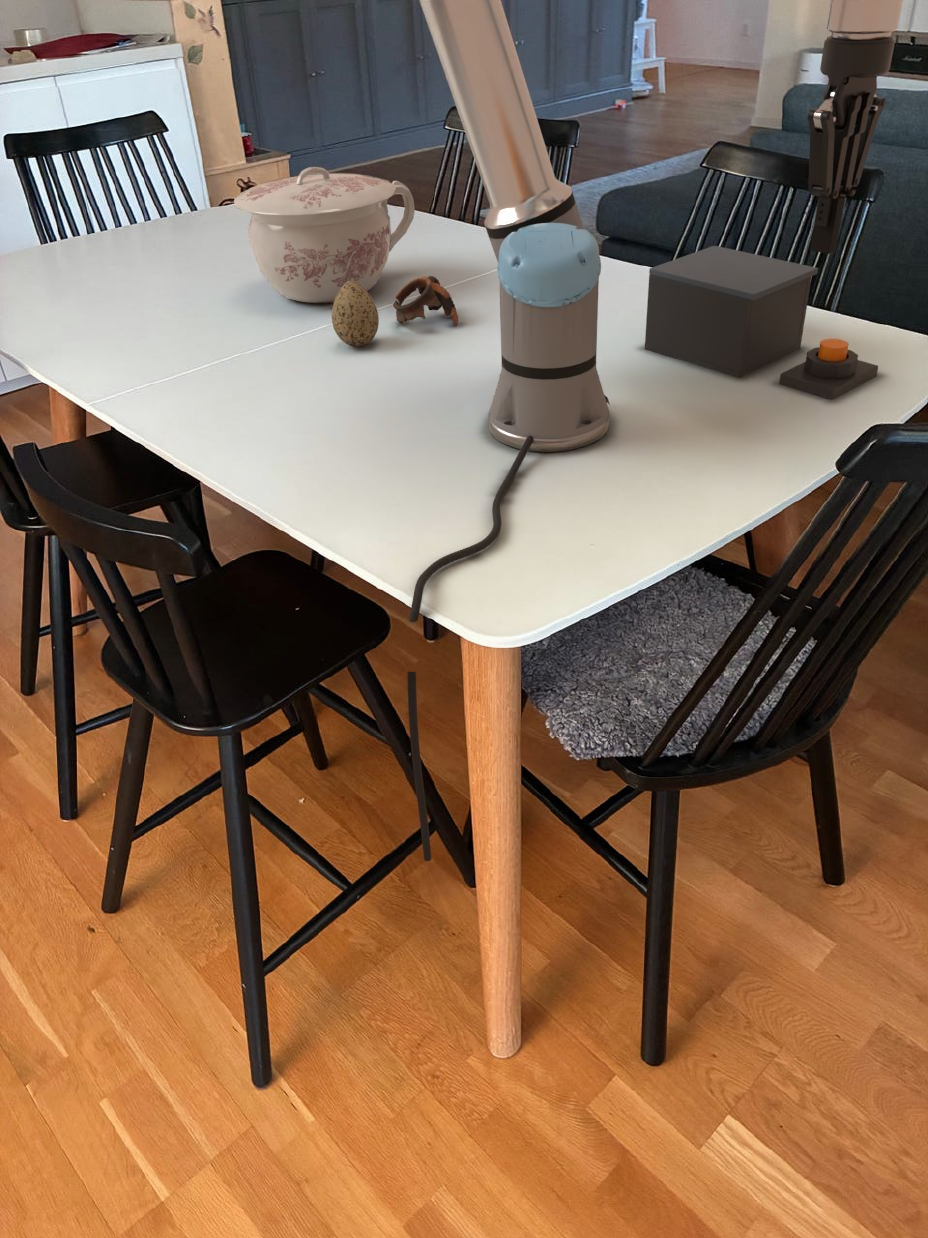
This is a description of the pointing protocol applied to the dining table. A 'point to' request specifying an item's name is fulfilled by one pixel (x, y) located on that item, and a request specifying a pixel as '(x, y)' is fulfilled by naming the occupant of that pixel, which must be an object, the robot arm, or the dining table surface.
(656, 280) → the dark grey box
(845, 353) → the button
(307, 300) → the chamber pot
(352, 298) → the decorative egg
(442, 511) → the dining table surface
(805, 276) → the dark grey box lid
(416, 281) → the brown curved piece
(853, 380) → the control block
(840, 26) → the robot arm
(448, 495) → the dining table surface
